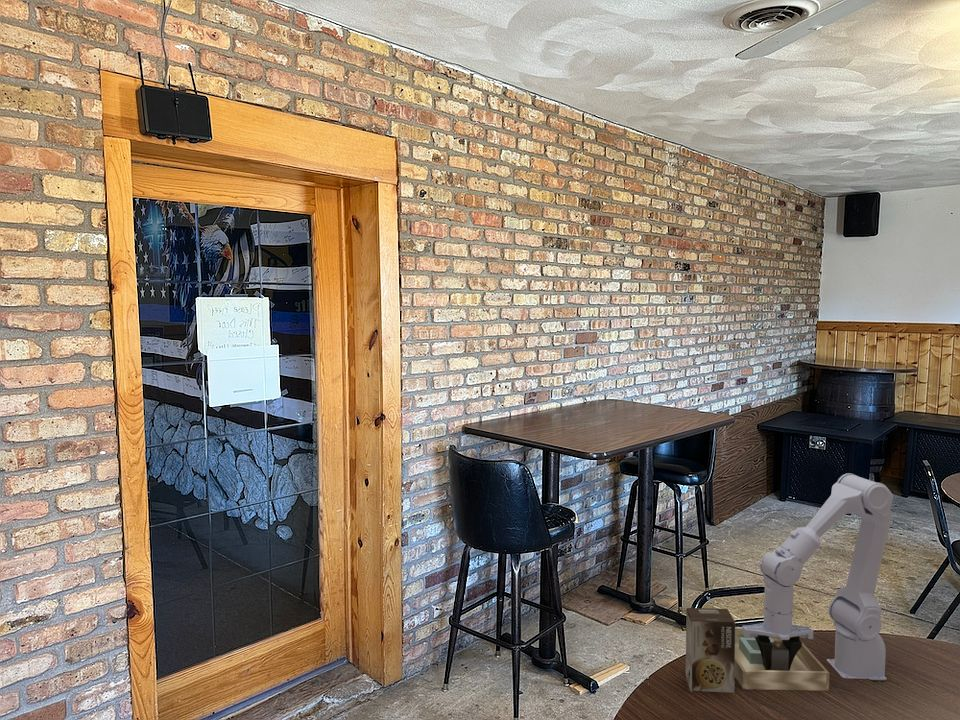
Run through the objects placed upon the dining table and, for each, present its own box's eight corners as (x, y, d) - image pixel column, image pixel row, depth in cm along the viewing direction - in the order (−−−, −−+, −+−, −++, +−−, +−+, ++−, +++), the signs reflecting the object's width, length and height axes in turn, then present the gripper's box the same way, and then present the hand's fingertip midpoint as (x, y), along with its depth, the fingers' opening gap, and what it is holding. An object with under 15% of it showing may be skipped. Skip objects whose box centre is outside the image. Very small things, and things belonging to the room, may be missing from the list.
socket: (770, 647, 159) (770, 637, 159) (783, 664, 152) (783, 653, 152) (738, 647, 160) (739, 637, 159) (750, 663, 152) (750, 653, 152)
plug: (781, 672, 148) (782, 637, 148) (787, 681, 145) (789, 646, 144) (764, 672, 149) (765, 637, 148) (771, 681, 145) (772, 645, 144)
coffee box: (726, 679, 147) (728, 608, 146) (734, 695, 141) (736, 621, 139) (684, 676, 148) (685, 606, 147) (690, 693, 142) (692, 620, 140)
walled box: (788, 645, 161) (789, 627, 161) (828, 693, 141) (829, 672, 141) (713, 644, 162) (713, 626, 162) (742, 691, 142) (743, 671, 142)
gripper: (751, 616, 142) (749, 677, 143) (820, 617, 141) (818, 679, 142) (739, 602, 149) (738, 660, 150) (805, 602, 148) (803, 661, 149)
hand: (776, 668), depth 147 cm, fingers closed on plug, 4 cm apart
